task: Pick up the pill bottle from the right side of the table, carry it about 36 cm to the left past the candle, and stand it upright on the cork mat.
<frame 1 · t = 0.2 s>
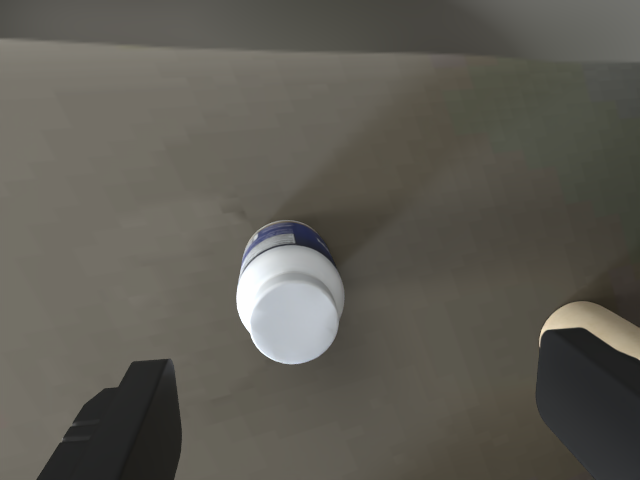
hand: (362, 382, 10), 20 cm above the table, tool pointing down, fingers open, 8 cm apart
candle: (573, 335, 34), on the table
pill bottle: (286, 258, 31), on the table
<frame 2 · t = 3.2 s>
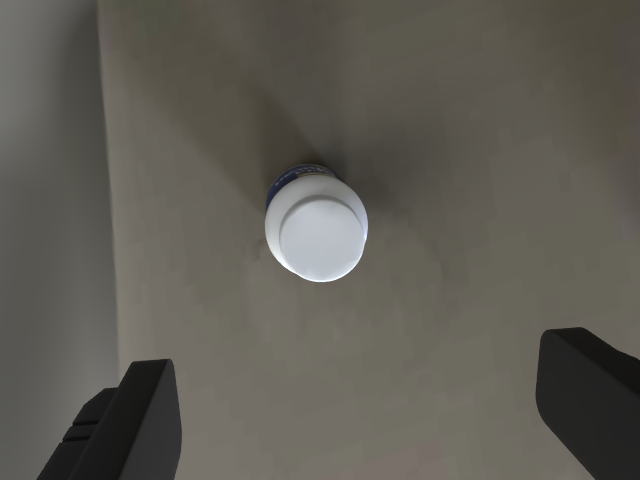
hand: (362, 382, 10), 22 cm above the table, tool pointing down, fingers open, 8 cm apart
pill bottle: (306, 203, 32), on the table
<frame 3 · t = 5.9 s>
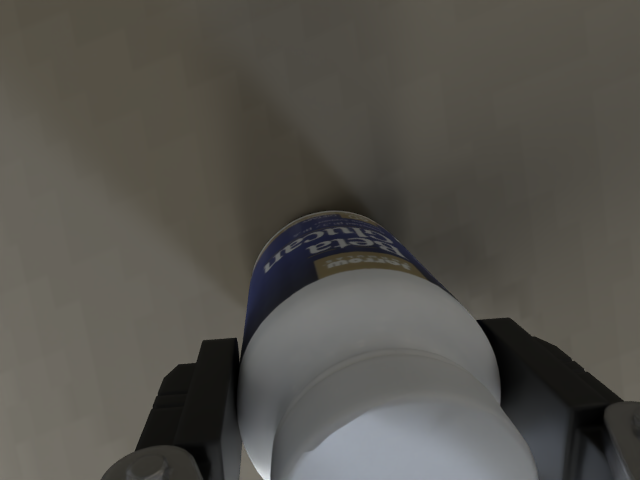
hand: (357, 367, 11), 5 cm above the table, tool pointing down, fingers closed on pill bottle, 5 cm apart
pill bottle: (329, 283, 16), on the table, touching gripper
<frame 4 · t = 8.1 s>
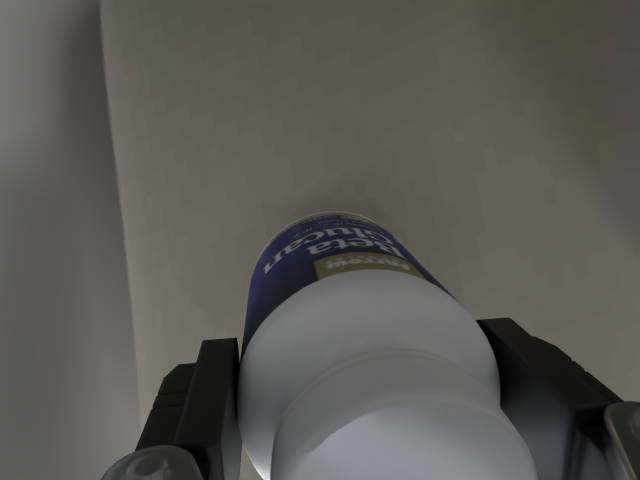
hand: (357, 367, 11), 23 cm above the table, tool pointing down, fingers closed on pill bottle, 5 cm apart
pill bottle: (329, 283, 16), point 17 cm above the table, touching gripper
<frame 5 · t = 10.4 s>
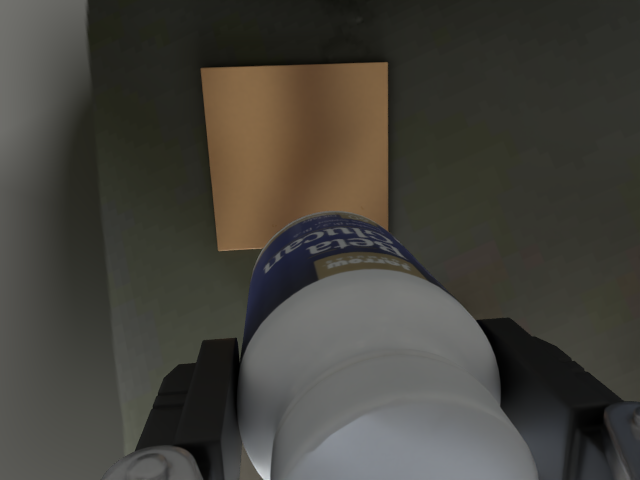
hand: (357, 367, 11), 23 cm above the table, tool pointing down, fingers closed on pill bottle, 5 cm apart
cork mat: (299, 158, 33), on the table
pill bottle: (329, 283, 16), point 18 cm above the table, touching gripper
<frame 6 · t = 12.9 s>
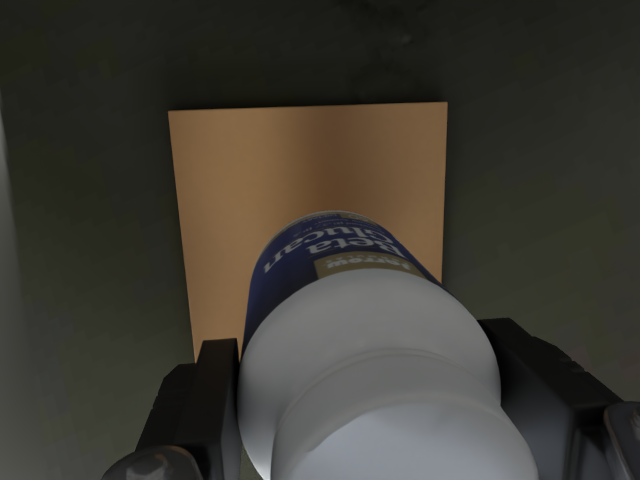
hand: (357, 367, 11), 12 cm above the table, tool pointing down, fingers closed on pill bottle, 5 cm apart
cork mat: (315, 239, 22), on the table
pill bottle: (329, 283, 16), point 6 cm above the table, touching gripper
when the fingers open (6 cm above the table, at t = 14.9 s): pill bottle stays where it is, resting on cork mat.
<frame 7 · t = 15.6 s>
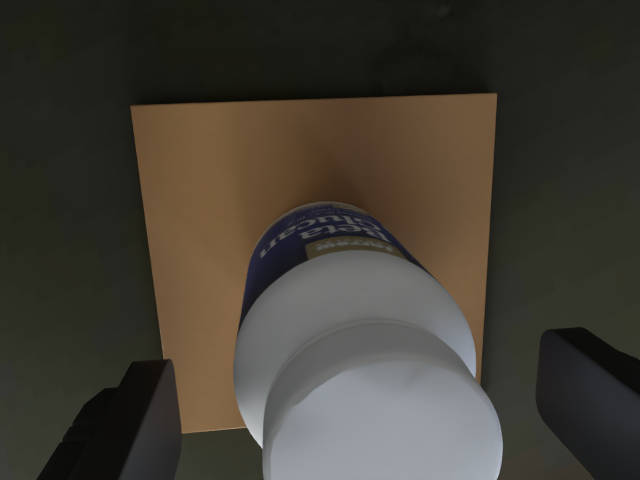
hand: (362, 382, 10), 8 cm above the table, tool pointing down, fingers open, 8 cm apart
cork mat: (324, 269, 18), on the table
pill bottle: (323, 271, 17), resting on cork mat
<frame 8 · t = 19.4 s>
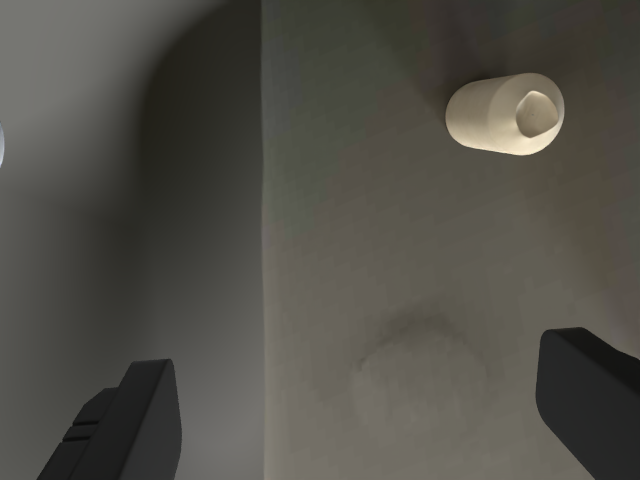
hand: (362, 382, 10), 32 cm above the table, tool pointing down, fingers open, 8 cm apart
candle: (474, 114, 42), on the table
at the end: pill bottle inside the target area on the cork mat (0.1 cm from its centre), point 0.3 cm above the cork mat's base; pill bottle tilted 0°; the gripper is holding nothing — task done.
